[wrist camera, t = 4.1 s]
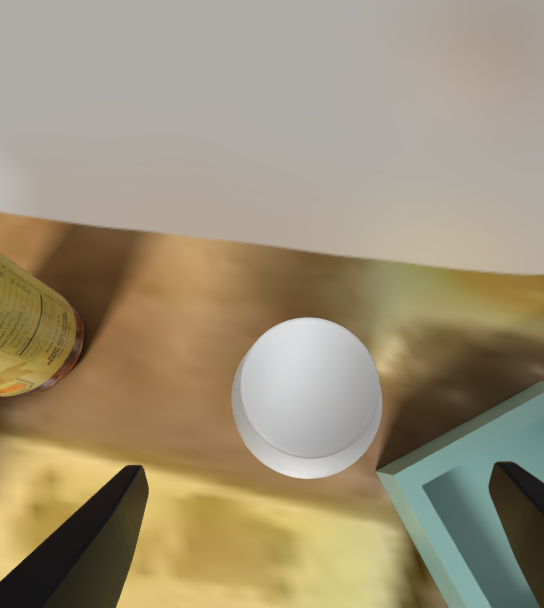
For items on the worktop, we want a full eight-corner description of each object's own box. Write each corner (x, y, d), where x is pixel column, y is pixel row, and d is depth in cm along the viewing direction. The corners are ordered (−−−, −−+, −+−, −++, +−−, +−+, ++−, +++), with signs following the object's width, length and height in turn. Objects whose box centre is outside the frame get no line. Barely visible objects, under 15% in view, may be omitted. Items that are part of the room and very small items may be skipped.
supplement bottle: (348, 362, 20) (392, 290, 11) (358, 468, 18) (423, 486, 9) (251, 365, 20) (218, 297, 11) (251, 470, 18) (210, 489, 9)
